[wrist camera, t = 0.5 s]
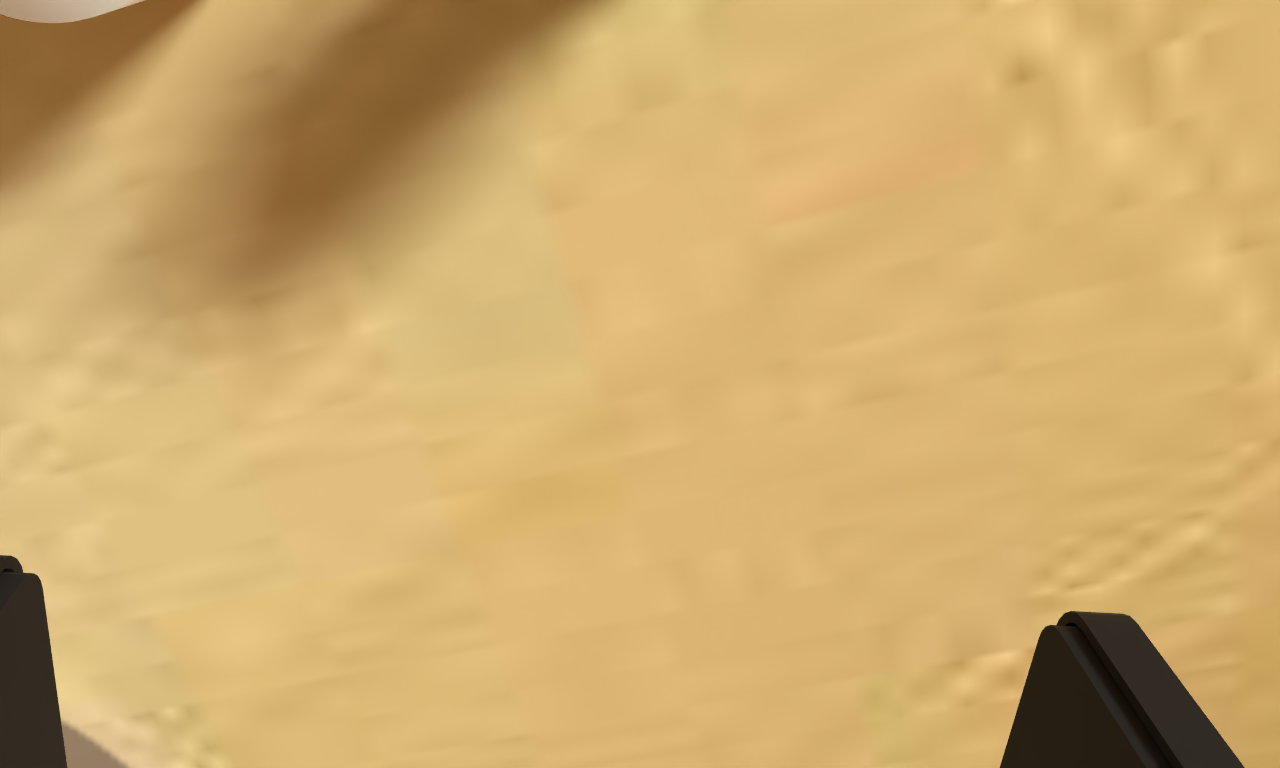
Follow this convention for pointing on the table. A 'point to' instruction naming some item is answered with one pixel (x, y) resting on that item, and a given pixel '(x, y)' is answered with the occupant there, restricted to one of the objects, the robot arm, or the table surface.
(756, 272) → the table surface
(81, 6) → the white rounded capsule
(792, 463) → the table surface
